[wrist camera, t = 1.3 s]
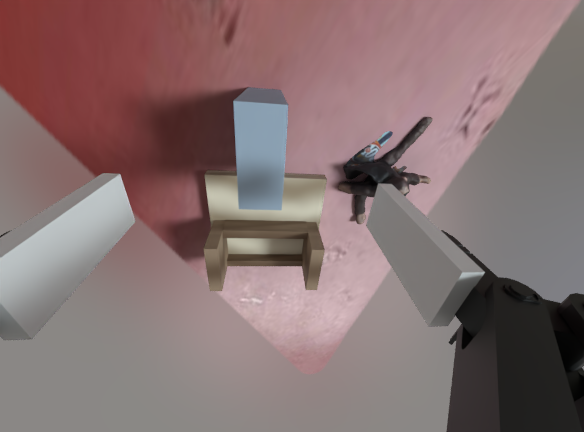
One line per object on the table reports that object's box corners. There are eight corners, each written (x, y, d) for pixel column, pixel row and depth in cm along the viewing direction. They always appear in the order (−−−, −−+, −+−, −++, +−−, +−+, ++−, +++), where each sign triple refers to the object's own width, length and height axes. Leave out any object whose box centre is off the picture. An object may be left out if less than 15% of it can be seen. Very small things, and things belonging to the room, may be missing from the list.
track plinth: (207, 170, 30) (190, 198, 23) (324, 174, 31) (338, 202, 25) (217, 254, 37) (206, 293, 31) (311, 255, 39) (319, 292, 32)
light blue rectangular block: (247, 87, 25) (231, 100, 15) (281, 90, 26) (289, 105, 15) (248, 160, 29) (237, 209, 19) (278, 161, 30) (282, 210, 20)
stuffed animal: (334, 225, 35) (361, 181, 24) (327, 168, 38) (349, 108, 27) (411, 224, 35) (472, 182, 24) (397, 169, 39) (445, 111, 28)
